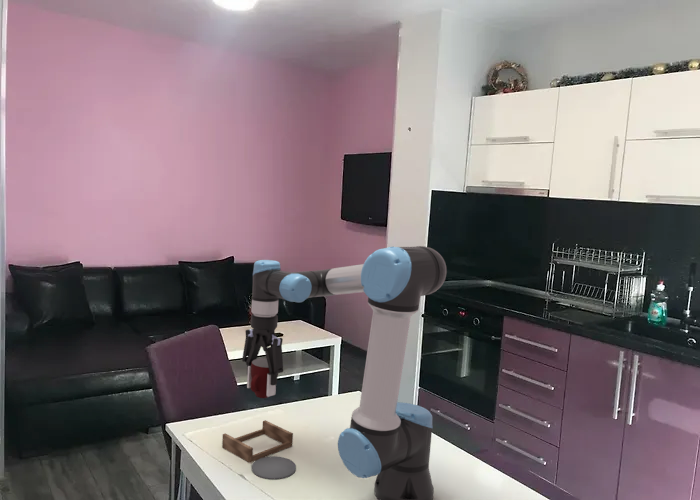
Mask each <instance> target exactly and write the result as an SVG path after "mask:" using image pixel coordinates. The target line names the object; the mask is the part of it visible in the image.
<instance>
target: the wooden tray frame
mask: <svg viewBox="0 0 700 500" xmlns="http://www.w3.org/2000/svg"><path fill="white" fill-rule="evenodd" d="M263 435H264V436H266V437H269V438H270V439H273V440H275V441H276V442H279V443H281V444H278V445H276V446H273V447H270V448H268V449H265V450H263V451H260V452H257V453H254V448H253V447H251V446H250V445H248V444H247V443H244V442H246V441H249V440H251V439H254V438H258V437H260V436H263ZM221 440H222V441H221V448H222V449H224V450H226V451H227V452H229V453H231V454H233V455H235V456H236V457H238V458H240V459H241V460H243V461H245V462H247V463H249V464H252V463H254V462H255V461H256V460H258V459H260V458H263V457H269V456H272V455H274V454H277V453H278V452H282V451H285V450H287V449H289V448H292V447H293V440H294V433H293V432H291V431H289V430H287V429H285V428H282V427H280V426H278V425H276V424H274V423H272V422H270V421H268V420H263V421H262V428H261V429H257V430H256V431H255V430H254V431H253V432H252V431H251V432H249V433H246V434H244V435H240V436H238V437H233V436H231V435H229V434H227V433H223V434H222V439H221Z"/></svg>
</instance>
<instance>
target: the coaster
mask: <svg viewBox="0 0 700 500" xmlns="http://www.w3.org/2000/svg"><path fill="white" fill-rule="evenodd" d="M296 470H297V465H296V463H295V462H294V461H293V460H292V459H290V458H287V457H283V456H277V455H276V456H275V455H274V456H273V455H269V456H266V457H263V458H260V459H258V460H256V461H254V462H252V463H251V472H252V473H253V474H254V475H255V476H256V477H259V478H260V479H261V478H262V479H264V480H270V481H271V480H272V481H273V480H283V479H286V478H289V477H291V476H293V475H294V474H295V473H296Z"/></svg>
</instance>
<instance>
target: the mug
mask: <svg viewBox="0 0 700 500" xmlns="http://www.w3.org/2000/svg"><path fill="white" fill-rule="evenodd" d="M273 370H274V368H273ZM268 373H270V372H269V367H268V363H267V358H266V357H265V358H264V357H263V358H262V357H261V358H257V359H255V360H253V361H252V363H251V379H252V381H251V388H250V390H251V392H253V393H254V395H255V396H256V397H257V398H260V399H267V398H269V397H268V396H266V394H267V374H268ZM278 377H279V374H278V375H277V378H278Z"/></svg>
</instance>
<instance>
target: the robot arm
mask: <svg viewBox="0 0 700 500" xmlns="http://www.w3.org/2000/svg"><path fill="white" fill-rule="evenodd" d="M447 273H448V271H447V265H446V261H445V259H444V257H443V256H442V255H441V254H440V253H439V252H438V251H437V250H435V249H434V248H431V247H429V246H424V245H418V246H388V247H385V248H379V249H376V250H375V251H374V252H372V253H371V254H369V255H368V256H367V258H366V259H365V261H364V263H362V264H356V265H348V266H347V265H346V266H341V267H340V266H339V267H335V268H334V267H333V268H327V269H319V270H317V269H316V270H305V271H291V272H290V271H284V270H282V269H281V263H280V261H278V260H271V259H261V260H260V259H259V260H257V261H255V262H254V264H253V271H252V293H251V295H252V296H251V297H252V298H251V310H250V311H251V316H250V317H251V318H250V327H251V328H250V329H245V341H244V345H243V346H244V348H243V353H242V358H241V360H242V362H244V363H245V365H246V377H247V378H246V379H247V380H246V381H247V382H246V388H247V389H251V381H252V379H251V363H252V361H253V360H255V359H258V355H259V353H260V350H261V348H262V350H263V351H264V354H265V358H267V363H268V367H269V372H270V373H268V374H267V394H266V396H268V398H269V397H273V396H275V395H276V392H277V391H276V389H277V387H276V386H277V384H278V377H277V375H278V376H279V374H280V373H284V364H283V363H284V362H283V348H282V345H283V338H282V337H277V336H276V332H275V331H276V329H277V328H278V320H279V319H278V317H279V316H278V315H277V314H279V313H278V312H279V299H280V300H281V299H282V300H285V301H288V302H290V303H293V302H295V303H303V302H304V301H305V300H307V299H309V298H317V297H331V296H332V297H333V296H337V295H348V294H357V293H364V294H365V295H366V296H367V304H368V306H369V307H370V308H371V310H372V317H371V323H370V330H369V331H370V332H369V337H368V338H369V339H368V345H367V350H366V351H367V352H366V359H365V367H364V371H363V380H362V387H361V392H360V393H361V395H360V401H359V406H358V407H356V408H355V409H354V410H353V411H352V413H351V417H350V418H351V419H350V425H349V427H347V428H345V429H344V430H343V431H341V433H340V434H339V436H338V439H337V450H338V454H339V457H340V459H341V461H342V463H343V465H344V466H345V468H346V469H347V470H348V471H349V472H350V473H351V474H352V475H353V476H356V477H357V478H361V479H367V478H371V477H373V476H374V477H375V476H376V478H375V481H374V486H373V487H374V489H373V492H374V496H375V497H376V498H377V500H434V494H435V493H434V492H435V490H434V485H433V480H432V477H431V471H430V457H431V456H430V455H431V444H432V435H433V434H432V433H433V432H432V431H433V429H434V428H433V427H434V426H433V415H432V413H431V411H430V410H428V409H427V408H426V407H422V406H421V405H418V404H417V405H416V404H413V403H408V402H403V401H402V402H401V401H400V402H398V401H399V393H400V388H401V381H402V374H403V367H404V361H405V355H406V348H407V343H408V336H409V335H408V334H409V328H410V322H411V317H412V316H413V315H414V314H416V313H418V311H419V310H420V309H419V308H420V304H421V303H420V302H421V301H420V300H421V297H424V296H428V295H431V294H433V293H435V292H437V290H439V289H440V288H441V287H442V286H443V284H444V282H445V281H446V279H447V278H446V277H447ZM273 368H274V370H273Z"/></svg>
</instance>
